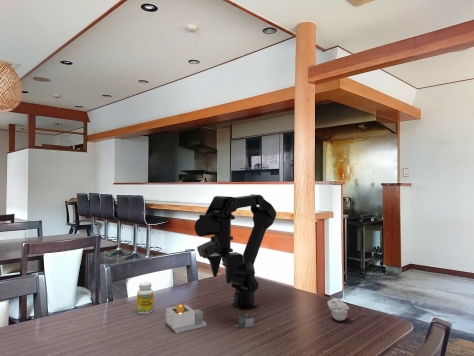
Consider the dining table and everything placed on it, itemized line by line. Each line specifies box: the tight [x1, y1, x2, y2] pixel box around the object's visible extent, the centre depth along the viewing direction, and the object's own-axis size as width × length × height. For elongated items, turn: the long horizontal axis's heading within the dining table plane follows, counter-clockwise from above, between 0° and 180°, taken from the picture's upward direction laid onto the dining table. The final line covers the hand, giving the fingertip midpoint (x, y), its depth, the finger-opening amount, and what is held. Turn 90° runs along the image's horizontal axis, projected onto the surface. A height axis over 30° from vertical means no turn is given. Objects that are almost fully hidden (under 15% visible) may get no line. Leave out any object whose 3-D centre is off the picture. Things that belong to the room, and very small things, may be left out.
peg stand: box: [165, 303, 207, 334], centre depth 106 cm, size 10×8×6 cm
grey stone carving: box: [327, 297, 350, 322], centre depth 111 cm, size 6×7×7 cm
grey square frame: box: [165, 304, 195, 329], centre depth 105 cm, size 7×7×4 cm
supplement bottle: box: [136, 281, 154, 315], centre depth 116 cm, size 5×5×10 cm
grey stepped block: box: [233, 313, 255, 328], centre depth 106 cm, size 6×4×3 cm
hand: (221, 279), depth 113 cm, fingers open, 9 cm apart
